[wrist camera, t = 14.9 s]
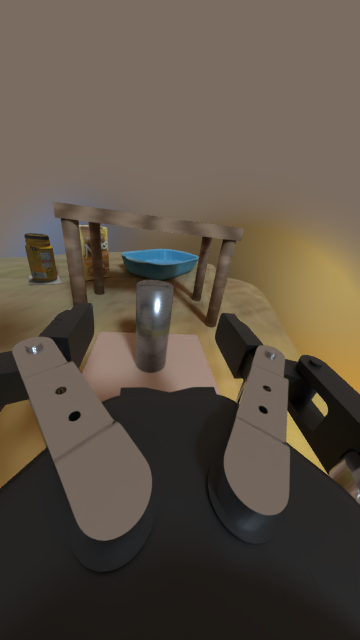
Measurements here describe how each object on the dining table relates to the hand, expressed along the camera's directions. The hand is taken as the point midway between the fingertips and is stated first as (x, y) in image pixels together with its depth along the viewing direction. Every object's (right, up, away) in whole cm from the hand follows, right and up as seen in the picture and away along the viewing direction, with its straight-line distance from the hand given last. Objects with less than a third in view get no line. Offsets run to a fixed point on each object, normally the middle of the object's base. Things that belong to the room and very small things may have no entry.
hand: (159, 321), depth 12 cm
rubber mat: (-3, -7, +17) cm, 18 cm away
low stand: (-6, +3, +35) cm, 36 cm away
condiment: (-38, +11, +43) cm, 58 cm away
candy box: (-27, +14, +50) cm, 59 cm away
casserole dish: (-6, +21, +69) cm, 73 cm away
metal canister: (-3, -6, +17) cm, 18 cm away
